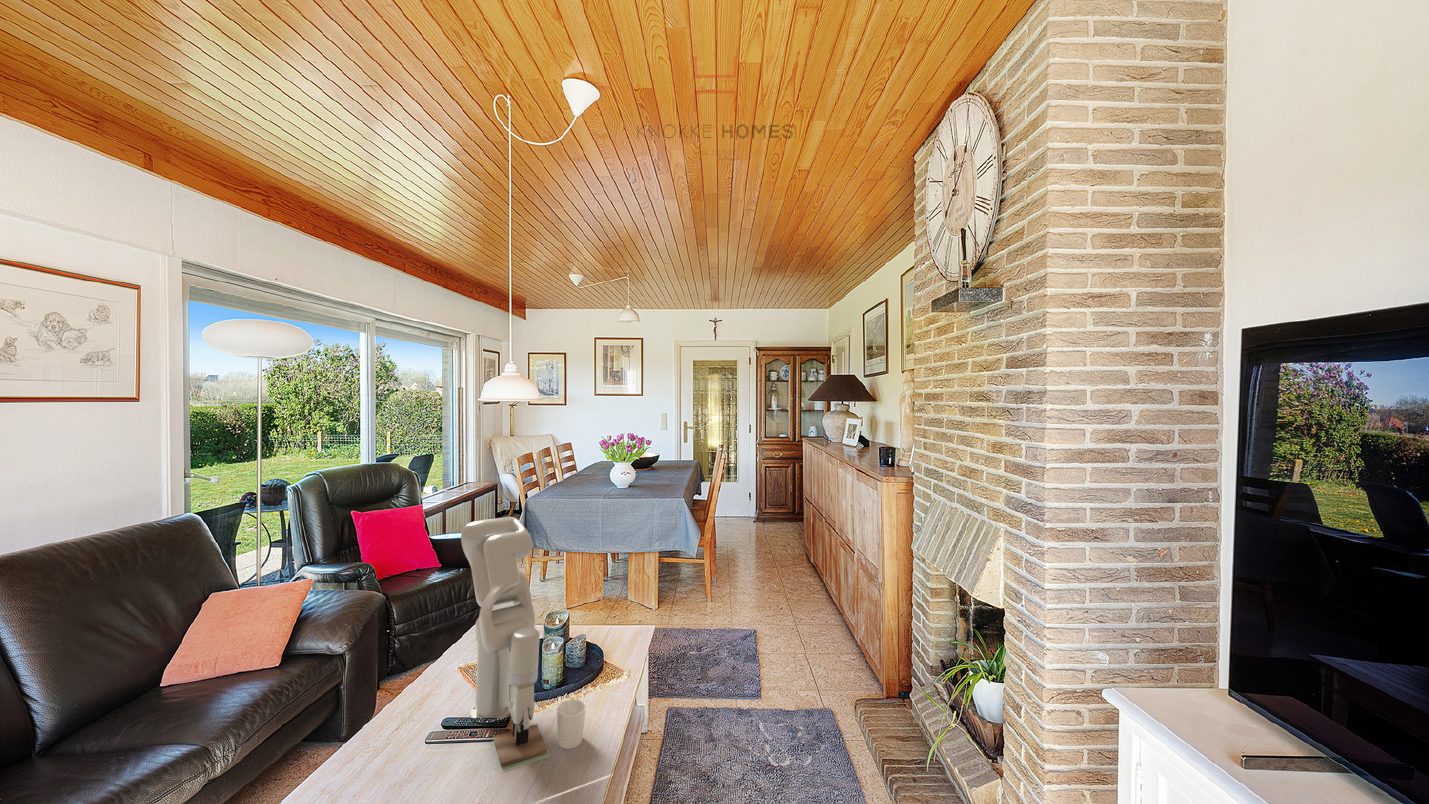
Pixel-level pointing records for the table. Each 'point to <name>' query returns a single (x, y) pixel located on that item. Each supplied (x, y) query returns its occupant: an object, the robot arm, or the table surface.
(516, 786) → the table surface
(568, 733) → the white cup
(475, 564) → the robot arm
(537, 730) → the walnut lid
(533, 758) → the sage mat
